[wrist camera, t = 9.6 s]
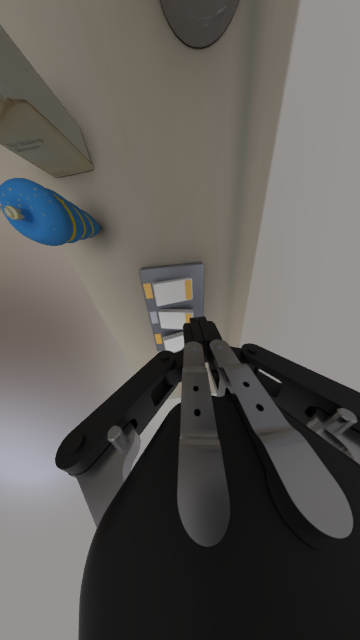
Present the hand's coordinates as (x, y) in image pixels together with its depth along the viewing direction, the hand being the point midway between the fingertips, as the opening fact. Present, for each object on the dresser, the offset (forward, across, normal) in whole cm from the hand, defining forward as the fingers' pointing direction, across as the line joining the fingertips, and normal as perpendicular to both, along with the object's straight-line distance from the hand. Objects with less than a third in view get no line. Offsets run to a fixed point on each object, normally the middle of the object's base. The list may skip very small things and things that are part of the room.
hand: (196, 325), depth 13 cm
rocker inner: (+13, +2, +1) cm, 13 cm away
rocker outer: (+13, +2, +13) cm, 18 cm away
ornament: (+18, +14, -10) cm, 25 cm away
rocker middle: (+13, +2, +7) cm, 15 cm away
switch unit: (+18, +2, +7) cm, 19 cm away
